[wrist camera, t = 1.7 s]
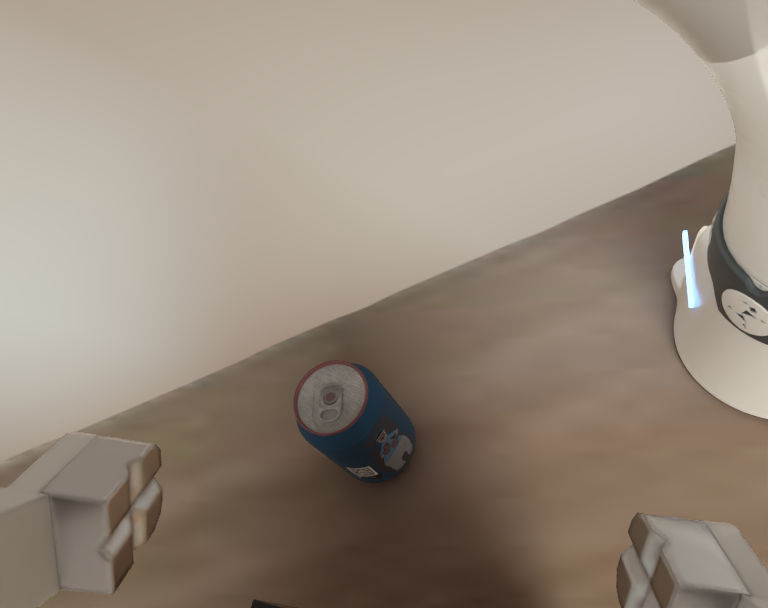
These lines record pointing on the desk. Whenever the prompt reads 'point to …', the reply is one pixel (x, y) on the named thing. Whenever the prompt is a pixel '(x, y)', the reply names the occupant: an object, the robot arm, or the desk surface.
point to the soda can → (354, 421)
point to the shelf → (267, 604)
